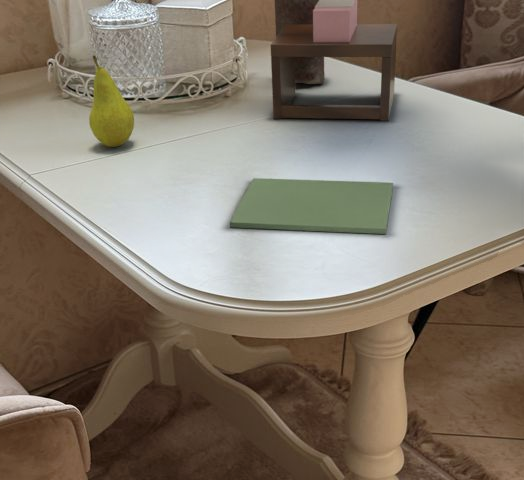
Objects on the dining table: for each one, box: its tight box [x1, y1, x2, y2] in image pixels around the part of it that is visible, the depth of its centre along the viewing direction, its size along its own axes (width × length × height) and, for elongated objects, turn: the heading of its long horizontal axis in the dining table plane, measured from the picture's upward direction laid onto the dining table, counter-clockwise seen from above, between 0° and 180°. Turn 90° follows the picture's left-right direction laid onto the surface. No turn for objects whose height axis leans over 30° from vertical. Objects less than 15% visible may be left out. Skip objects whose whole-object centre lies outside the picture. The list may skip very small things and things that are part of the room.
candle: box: [274, 0, 325, 85], centre depth 119 cm, size 8×7×20 cm
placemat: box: [229, 177, 394, 235], centre depth 85 cm, size 16×12×1 cm
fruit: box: [88, 55, 135, 148], centre depth 101 cm, size 6×6×12 cm
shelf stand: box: [270, 23, 398, 122], centre depth 111 cm, size 16×12×10 cm
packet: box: [313, 0, 358, 43], centre depth 107 cm, size 5×10×4 cm, turn 169°
